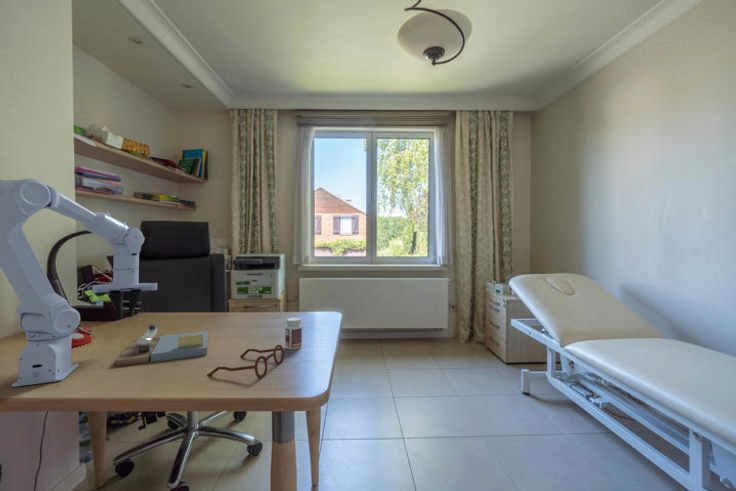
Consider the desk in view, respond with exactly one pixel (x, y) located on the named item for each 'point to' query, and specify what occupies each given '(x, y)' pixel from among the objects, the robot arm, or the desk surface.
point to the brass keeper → (190, 341)
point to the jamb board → (136, 354)
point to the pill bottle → (293, 334)
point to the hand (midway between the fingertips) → (125, 316)
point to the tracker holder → (81, 337)
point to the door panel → (170, 350)
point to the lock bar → (147, 337)
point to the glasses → (256, 361)
